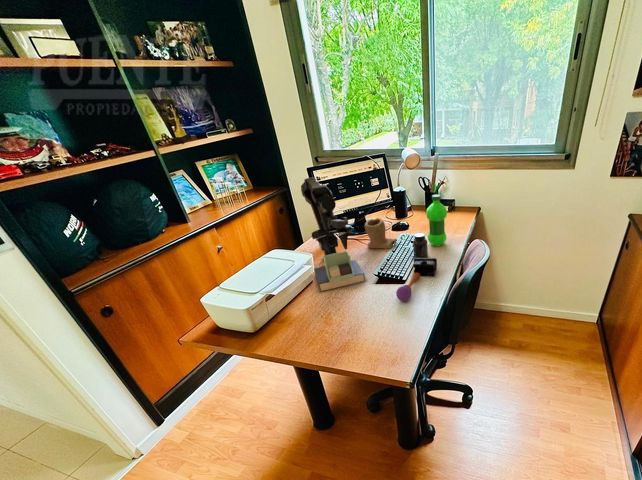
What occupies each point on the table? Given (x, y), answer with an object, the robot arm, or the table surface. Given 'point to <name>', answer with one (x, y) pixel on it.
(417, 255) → the supplement bottle
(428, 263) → the end cap
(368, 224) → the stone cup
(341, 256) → the green arch-shaped block
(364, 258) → the table surface
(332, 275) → the cream block
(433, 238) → the plastic bottle
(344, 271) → the walnut block
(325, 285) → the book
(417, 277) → the kendama
